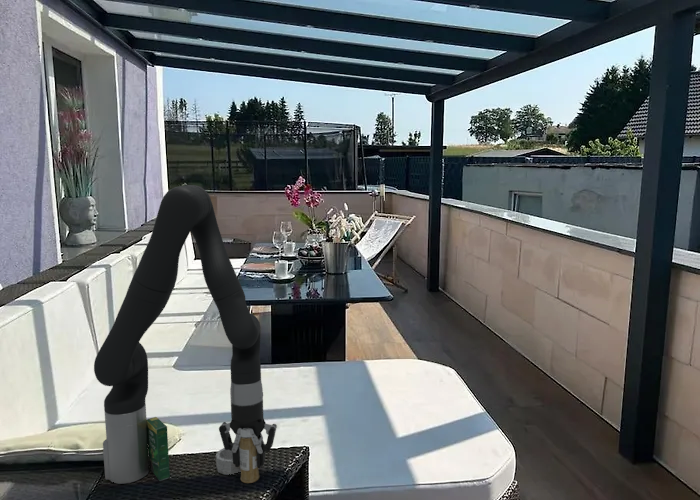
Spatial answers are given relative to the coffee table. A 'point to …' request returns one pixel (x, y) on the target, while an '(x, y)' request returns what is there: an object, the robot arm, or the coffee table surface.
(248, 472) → the sprinkles bottle
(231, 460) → the aluminium ring
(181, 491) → the coffee table surface
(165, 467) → the coffee box
